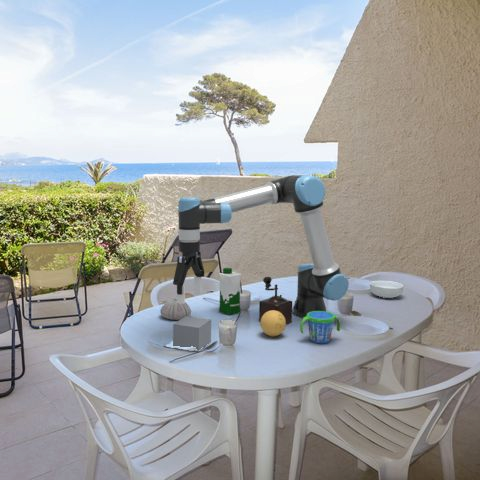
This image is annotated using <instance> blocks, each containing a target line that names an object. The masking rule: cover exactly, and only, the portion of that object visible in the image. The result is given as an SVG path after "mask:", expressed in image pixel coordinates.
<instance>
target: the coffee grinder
mask: <svg viewBox="0 0 480 480" xmlns="http://www.w3.org/2000/svg"><path fill="white" fill-rule="evenodd" d="M272 279H273V278H272V277H271V276H265V277H263V278H262V281H263V283H264V284H265V285H264V287H265V288H264V289H265V291H274V295H273V296H271V297H269V298H266V299H262V300H260V301H259V302H258V303H259V306H258V307H259V308H258V309H259V312H258V314H259V315H258V317H259V319H258V322H259V323H260V322H261V318H262V316H263V315H264V314H265V313H266V312H268V311H271V310H275V311H279V312H281V314H282V315H283V316H284V317H285V319H286V320H285V321H286V325H289V324H291V323H292V322H293V300H289V299H287V298H284V297H283V296H282V294H280V295H278V289H279V288H278V286H279V285H278V284H274V288H271V287H272V284H271V282H272Z"/></svg>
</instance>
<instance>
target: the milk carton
mask: <svg viewBox="0 0 480 480" xmlns="http://www.w3.org/2000/svg"><path fill="white" fill-rule="evenodd" d="M242 276H243V274H241V273H239V272H237V271H233V268H232V267H223V269H222V272H219V273H218V279H219V307H218V309H219V311H218V313H222V314H224V315H227V316H232V315H236V314H241V280H242Z"/></svg>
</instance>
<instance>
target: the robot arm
mask: <svg viewBox="0 0 480 480" xmlns="http://www.w3.org/2000/svg"><path fill="white" fill-rule="evenodd" d="M325 196H326V187H325V184H324V182H323V181H322V180H321V178H319V177H318V176H315V175H310V174H301V175H299V174H298V175H297V174H295V175H293V174H292V175H288V176H287V175H286V176H284V177H281V178H278V179H275V180H271V181H268V182H267V183H265V185H261V186H258V187H257V186H256V187H254V188H249V189H245V190H241V191H237V192H233V193H229V194H224V195H220V196H217V197H216V196H215V197H213V198H209V199H205V200H202V199H201V200H200V198H199V197H180V198H179V200H178V205H177V206H178V207H177V208H178V210H177V212H178V232H177V233H178V240H179V242H178V252H180V253H181V254H182V255H181V256H177V258H176V259H177V260H176V261H177V262H176V267H175V271H174V277H173V281H172V284H173V285H174V286H176V299H177V303H182V304H184V303H185V302H186V292H185V291H186V285H185V280H186V278H187V275H188V271H189V270H190V269H192V271H193V273H194V275H195V276H194V277H193V278H194V279H193V280H194V281H193V284H194V285H193V287H194V290H193V291H194V292H193V293H194V295H202V286H203V285H202V282H203V281H202V280H203V278H204V277H205V269H204V264H203V260H202V254H201V252H202V251H201V246H200V245H201V243H200V242H201V241H200V239H201V232H200V231H201V225H203V224H226V223H229V222H230V221H231V220H232V217H233V216H232V215H233V213H236V212H240V211H244V210H247V209H252V208H256V207H259V206H263V205H266V204H267V205H268V204H271V205H277V204H293V209H294V211H295V213H296V214H298V215H299V216H300V220H301V223H302V226H303V231H304V234H305V238H306V242H307V246H308V248H309V249H308V250H309V253H310V257H311V260H312V263H302V264H300V265H299V266H298V267H297V269H298V270H297V294H296V295H297V297H296V299H295V302H294V304H293V306H292V314H294V315H295V316H297V317H300V318H304V317H306V316H307V313H309V312H312V311H325V312H327V307H326V303H325V299H326V300H330V301H334V302H335V301H339V300H340V299H342V298H344V296H345V295H346V294H347V291H348V290H349V278H348V277H347V276H345V274H343V273H341V269H340V265H339V264H338V263H337V262H335V260H334V255H333V252H332V248H331V244H330V241H329V236H328V233H327V227H326V225H325V224H326V223H325V221H324V216H323V213H322V208H323V206H324V202H323V201H324V200H325ZM324 298H325V299H324Z"/></svg>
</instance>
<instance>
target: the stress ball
mask: <svg viewBox="0 0 480 480" xmlns="http://www.w3.org/2000/svg"><path fill="white" fill-rule="evenodd" d="M285 320H286V319H285V317H284V316H283V315H282V314H281V312H279V311H275V310H271V311H268V312H266V313H265V314H264V315H263V316H262V318H261V322H259V323H260V328H261V330H262V332H264V334H265V335H267V336H269V337H272V338H274V337H277V336H279V335H281V334H282V333H283V332H284V331H285V329H286V327H287V324H286V321H285Z"/></svg>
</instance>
